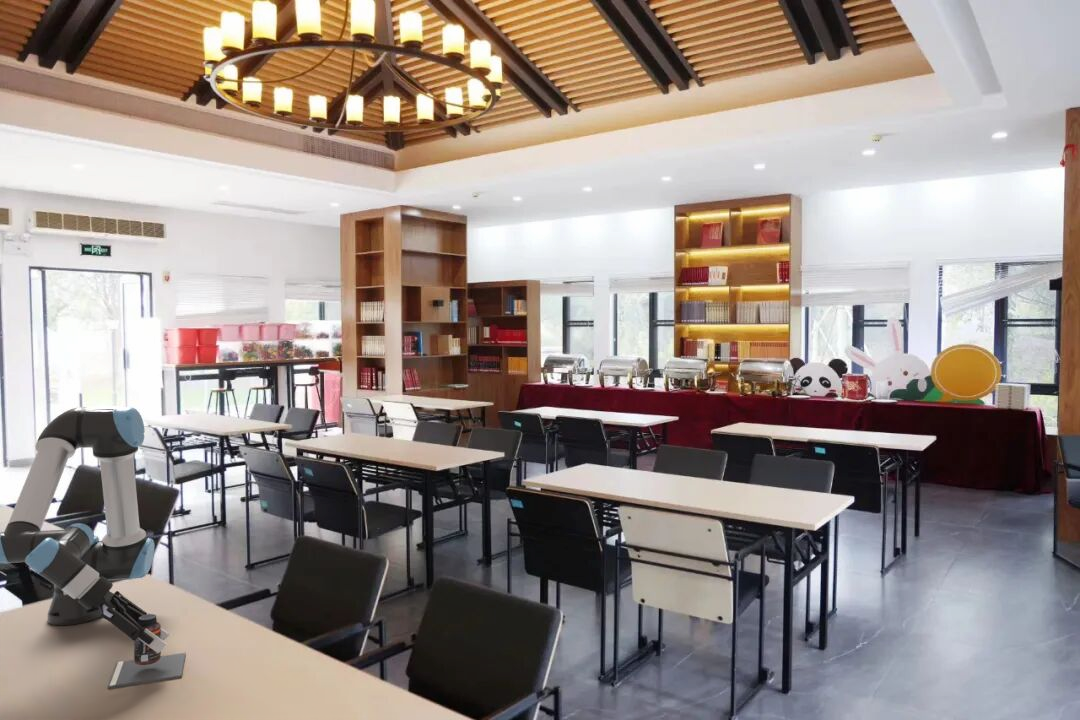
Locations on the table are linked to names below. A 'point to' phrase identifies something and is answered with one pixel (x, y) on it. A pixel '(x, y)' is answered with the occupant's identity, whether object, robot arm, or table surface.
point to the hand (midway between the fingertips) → (163, 643)
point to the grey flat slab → (147, 671)
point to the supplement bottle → (141, 650)
